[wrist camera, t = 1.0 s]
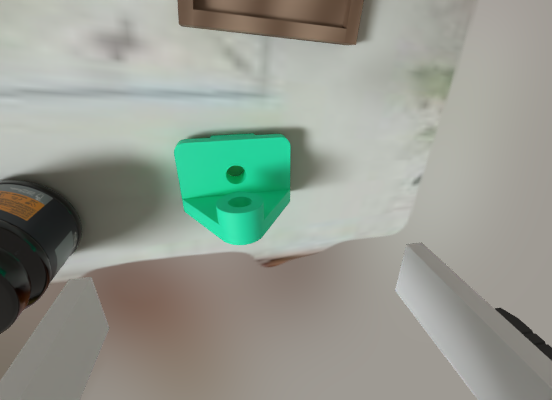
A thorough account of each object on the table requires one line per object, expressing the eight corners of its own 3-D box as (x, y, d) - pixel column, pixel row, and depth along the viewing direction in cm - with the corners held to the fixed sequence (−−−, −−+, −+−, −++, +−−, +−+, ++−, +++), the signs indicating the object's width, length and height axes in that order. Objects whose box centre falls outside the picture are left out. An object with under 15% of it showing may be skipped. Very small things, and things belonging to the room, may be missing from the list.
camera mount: (285, 131, 33) (311, 159, 24) (285, 192, 36) (308, 237, 27) (175, 137, 31) (158, 170, 22) (186, 201, 34) (175, 252, 25)
